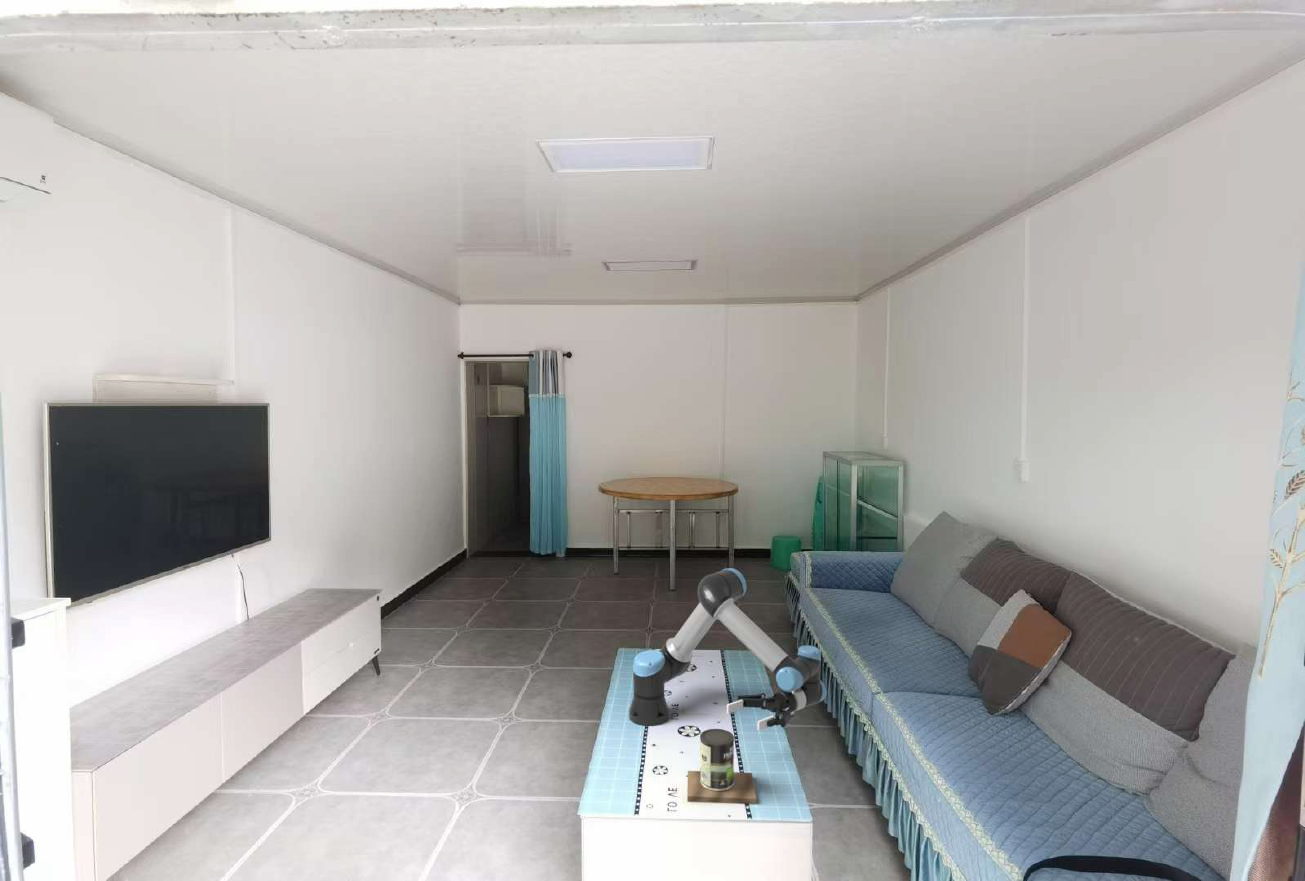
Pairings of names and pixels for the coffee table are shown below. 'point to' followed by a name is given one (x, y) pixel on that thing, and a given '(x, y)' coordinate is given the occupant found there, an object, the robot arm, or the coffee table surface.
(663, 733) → the coffee table surface
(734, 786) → the walnut board
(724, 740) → the coffee can
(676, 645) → the robot arm
